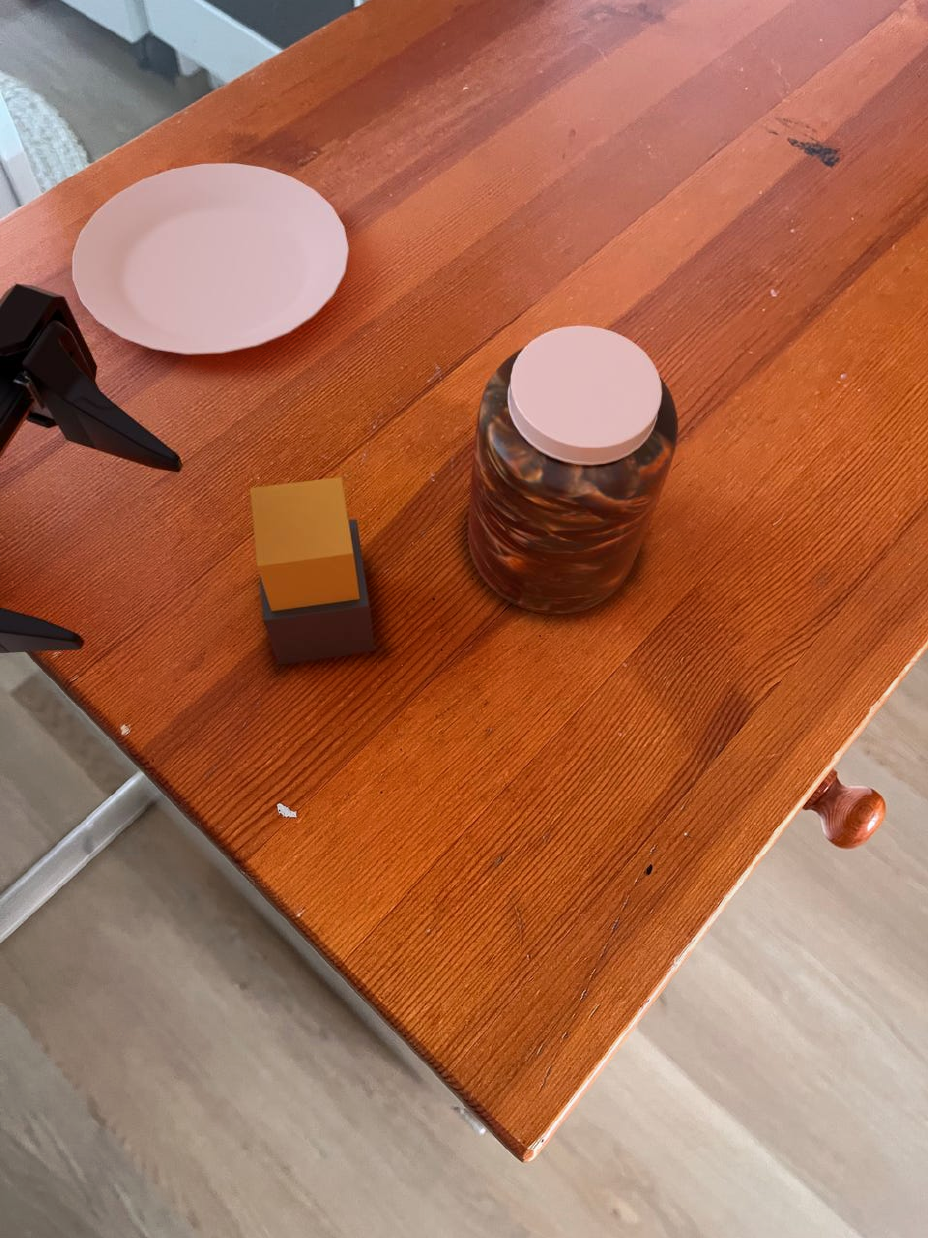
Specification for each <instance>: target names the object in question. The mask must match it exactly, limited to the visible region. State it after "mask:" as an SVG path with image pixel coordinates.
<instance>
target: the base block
mask: <svg viewBox="0 0 928 1238" xmlns="http://www.w3.org/2000/svg"><path fill="white" fill-rule="evenodd" d="M348 520H349V526H350V533H351V540H352V547H353V554H354V561H355V568H356V576H357V583H358V590H359V599H357V600H350V601H343V602H335V603H328V604H321V605H314V606H307V607H299V608H292V609H285V610H278V611H271V608H270V605H269V602H268V599H267V596H266V593H265V590H264V587H263V584H262V581H261V578H260V574H259V573H258V577H259V589H260V597H261V601H260V602H261V610H262V612H261V613H262V622H263V624H264V627H265V630H266V632H267V635H268V639H269V641H270V644H271V648H272V649H273V650H272V651H273V652H274V655H275V658H276V661H277V664H278V665H279V666H283V665H289V664H296V663H303V662H309V661H317V660H322V659H323V660H324V659H331V658H337V657H343V656H345V657H346V656H350V655H358V654H364V653H372V652H375V651H376V647H375V640H374V631H373V624H372V623H373V622H372V616H371V615H372V614H371V606H370V599H369V593H368V592H369V591H368V585H367V579H366V573H365V567H364V561H363V553H362V546H361V539H360V533H359V527H358V519H356V518H355V519H348Z"/></svg>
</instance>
